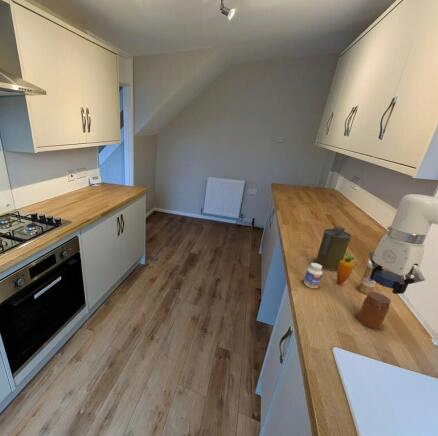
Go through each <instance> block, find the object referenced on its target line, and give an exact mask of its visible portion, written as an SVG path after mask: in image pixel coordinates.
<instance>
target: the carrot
mask: <svg viewBox="0 0 438 436" xmlns="http://www.w3.org/2000/svg"><path fill="white" fill-rule="evenodd" d="M343 257H344V258H343V260H340V262H339V266H338V270H337V271H336V280H337V284H339V285H341V284H343V283H345V282H346V281H347V280H348V278H349V277H351V274H352V271H353V269H354V264H355V263H354V262H353V261H352V260H354V259H355V258H356V257H355V256H353V253H349V252H348V251H346V252H345V256H343Z"/></svg>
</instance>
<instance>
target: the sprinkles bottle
mask: <svg viewBox="0 0 438 436" xmlns="http://www.w3.org/2000/svg"><path fill="white" fill-rule="evenodd" d="M382 269H384V267H383V268H382ZM372 270H373V268H372V263H371V259H369V260H367V264H366V267H365V270H364V272H363V274H362V277H361V279H360V283H359V286H358V287H357V289H358V291H360V292H361V293H364V294H368V293H369V292H374V289H375V287H376V285H377V283H376V282H375V281H374V280H371V279H370V276H371V273H372Z"/></svg>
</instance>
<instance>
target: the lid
mask: <svg viewBox="0 0 438 436" xmlns="http://www.w3.org/2000/svg"><path fill="white" fill-rule="evenodd" d="M373 280H374V281H375V282H376V284H378V285H380V286H382V287H385V288H387V289H392V290H393V288H394V286H395V284H396V282H399V278H398V275H397V274H395V273H393V272H391V271H389V270H387V269H384V270H376V271H375V273H374V276H373Z"/></svg>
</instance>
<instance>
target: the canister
mask: <svg viewBox="0 0 438 436" xmlns="http://www.w3.org/2000/svg"><path fill="white" fill-rule="evenodd" d="M345 230H346V228H345V227H342V226H333V228H326V229H324V230H323V235H322V239H321V242H320V244H319V245H320V246H319V249H318V252H317V254H316V255H317V256H316V258H315V261H314V263H317V264H320V265H321V266H322V269H325V270H328V271H333V272H337V270H338V266H339V262H340V260H344V259H345V258H344V257H343V256H345V257H346V254H345V252H347V249H348V246H349V244H350V240H351V238H352V237H353V236H352V234H351V233H349V232H347V231H345Z"/></svg>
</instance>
